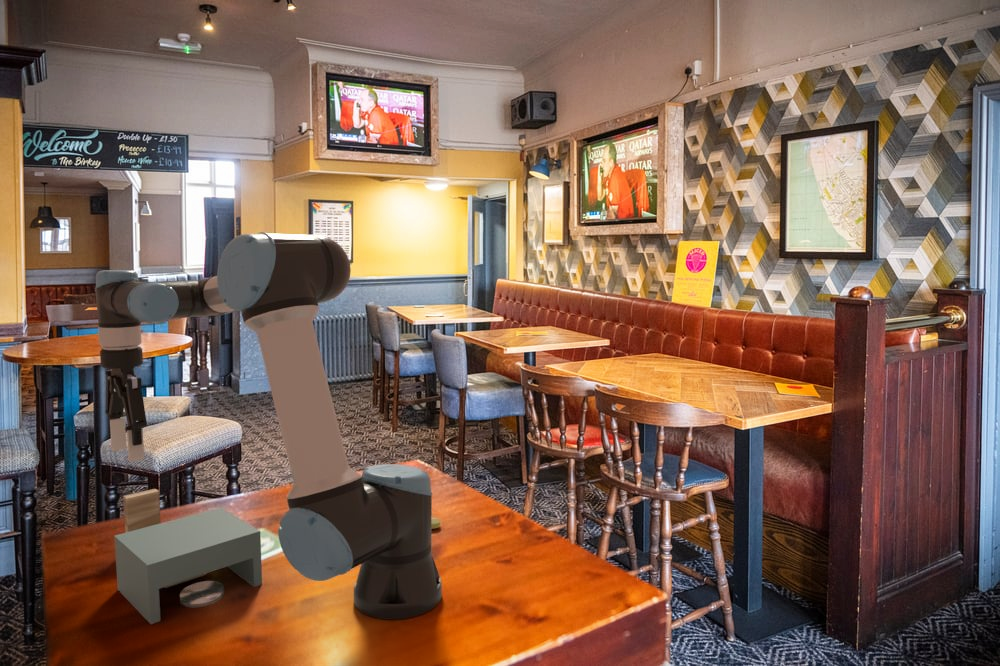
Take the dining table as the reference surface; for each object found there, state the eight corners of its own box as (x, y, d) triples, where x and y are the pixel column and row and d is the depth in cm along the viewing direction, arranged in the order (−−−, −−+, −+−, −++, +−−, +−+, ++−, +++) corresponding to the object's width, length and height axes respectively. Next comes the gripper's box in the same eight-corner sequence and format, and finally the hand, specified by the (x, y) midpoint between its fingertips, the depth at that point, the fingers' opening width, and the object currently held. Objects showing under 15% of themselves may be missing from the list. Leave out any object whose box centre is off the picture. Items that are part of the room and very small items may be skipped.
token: (231, 598, 121) (230, 590, 120) (190, 613, 116) (189, 605, 115) (213, 585, 125) (213, 577, 125) (173, 598, 120) (173, 590, 120)
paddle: (205, 575, 128) (202, 517, 126) (165, 588, 123) (162, 528, 121) (160, 539, 143) (157, 487, 142) (123, 549, 138) (120, 496, 137)
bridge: (262, 584, 125) (260, 531, 124) (150, 624, 112) (147, 565, 110) (223, 556, 136) (221, 507, 135) (117, 589, 123) (114, 535, 122)
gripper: (161, 351, 135) (167, 462, 137) (122, 339, 150) (128, 440, 153) (119, 355, 129) (126, 471, 132) (83, 342, 145) (90, 446, 148)
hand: (127, 454), depth 143 cm, fingers open, 10 cm apart
